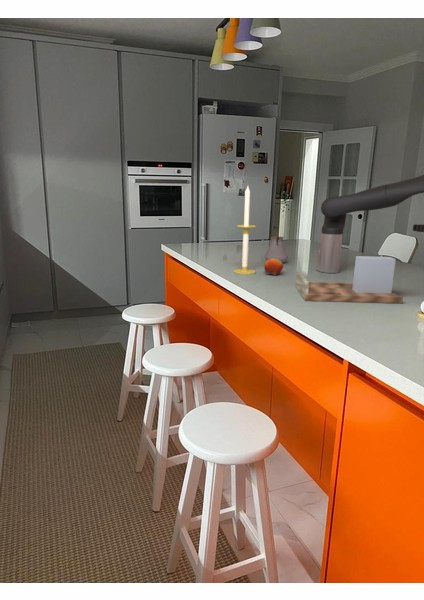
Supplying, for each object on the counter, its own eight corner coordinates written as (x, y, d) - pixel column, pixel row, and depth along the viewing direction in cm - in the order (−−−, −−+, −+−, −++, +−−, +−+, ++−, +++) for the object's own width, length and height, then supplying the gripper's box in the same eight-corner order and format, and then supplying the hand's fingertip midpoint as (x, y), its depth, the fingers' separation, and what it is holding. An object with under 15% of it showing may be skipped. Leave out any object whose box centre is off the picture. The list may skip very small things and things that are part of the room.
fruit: (260, 272, 179) (264, 255, 181) (264, 279, 187) (267, 262, 189) (279, 274, 177) (282, 256, 178) (282, 280, 184) (285, 263, 186)
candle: (228, 271, 188) (231, 184, 178) (243, 268, 195) (246, 184, 185) (245, 275, 181) (249, 184, 172) (260, 272, 188) (264, 185, 178)
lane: (305, 300, 141) (306, 282, 139) (295, 287, 160) (297, 271, 159) (401, 303, 140) (404, 285, 138) (381, 289, 159) (383, 273, 158)
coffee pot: (264, 260, 219) (266, 231, 216) (286, 261, 218) (288, 232, 214) (263, 267, 199) (265, 235, 195) (288, 268, 197) (290, 236, 194)
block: (356, 292, 147) (360, 258, 144) (352, 289, 152) (355, 256, 149) (391, 293, 147) (395, 259, 144) (386, 290, 152) (390, 256, 149)
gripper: (458, 216, 149) (408, 215, 150) (480, 219, 136) (425, 218, 136) (454, 238, 151) (405, 236, 152) (476, 242, 138) (422, 241, 138)
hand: (415, 228), depth 144 cm, fingers closed
